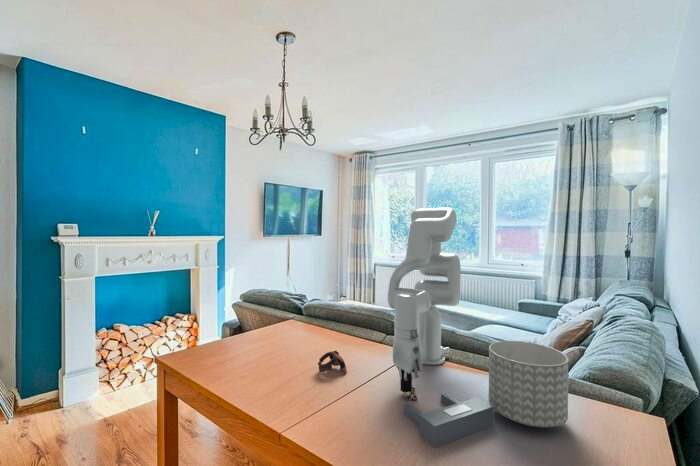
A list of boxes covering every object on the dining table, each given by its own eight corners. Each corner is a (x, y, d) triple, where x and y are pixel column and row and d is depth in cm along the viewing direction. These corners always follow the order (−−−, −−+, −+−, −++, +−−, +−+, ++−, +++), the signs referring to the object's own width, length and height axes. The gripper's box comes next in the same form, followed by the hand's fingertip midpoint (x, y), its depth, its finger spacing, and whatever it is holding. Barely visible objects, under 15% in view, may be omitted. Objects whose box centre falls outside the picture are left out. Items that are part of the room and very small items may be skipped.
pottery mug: (348, 379, 116) (337, 360, 114) (324, 389, 117) (313, 371, 116) (349, 358, 127) (339, 340, 126) (328, 367, 129) (317, 350, 127)
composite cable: (408, 388, 109) (408, 380, 109) (422, 391, 107) (422, 383, 107) (400, 402, 100) (400, 393, 100) (415, 405, 98) (415, 397, 98)
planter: (537, 448, 78) (538, 371, 78) (473, 409, 95) (474, 346, 95) (583, 427, 87) (584, 357, 87) (517, 395, 104) (517, 337, 104)
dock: (450, 399, 101) (451, 381, 101) (493, 425, 88) (493, 405, 88) (396, 415, 92) (396, 396, 92) (434, 447, 79) (434, 425, 79)
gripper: (431, 338, 100) (431, 399, 100) (402, 325, 113) (402, 379, 113) (411, 341, 97) (410, 404, 97) (383, 328, 110) (383, 383, 110)
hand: (406, 390), depth 105 cm, fingers closed
